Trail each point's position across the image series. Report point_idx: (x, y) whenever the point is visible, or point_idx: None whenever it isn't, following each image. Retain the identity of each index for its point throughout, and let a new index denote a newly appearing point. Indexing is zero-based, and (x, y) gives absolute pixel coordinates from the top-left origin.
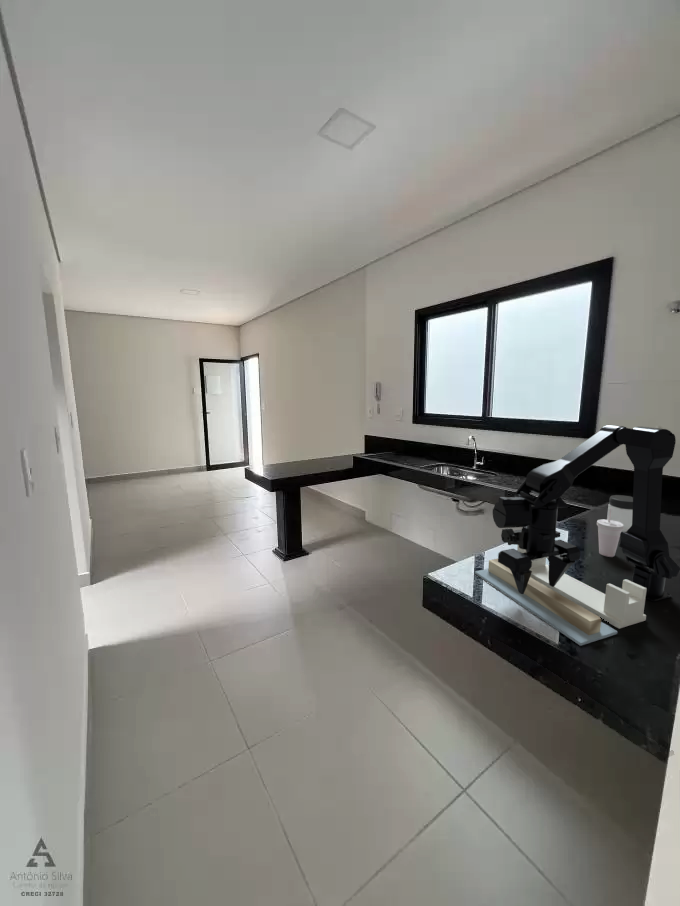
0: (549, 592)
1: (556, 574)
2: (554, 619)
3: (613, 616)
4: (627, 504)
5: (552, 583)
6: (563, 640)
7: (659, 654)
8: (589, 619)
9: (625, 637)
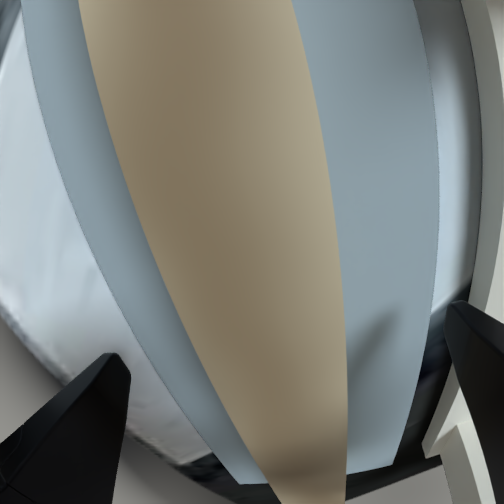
0: (296, 447)
1: (492, 436)
2: (234, 438)
3: (447, 442)
4: None
5: (454, 346)
6: (206, 463)
7: (396, 481)
8: None
9: (395, 461)
